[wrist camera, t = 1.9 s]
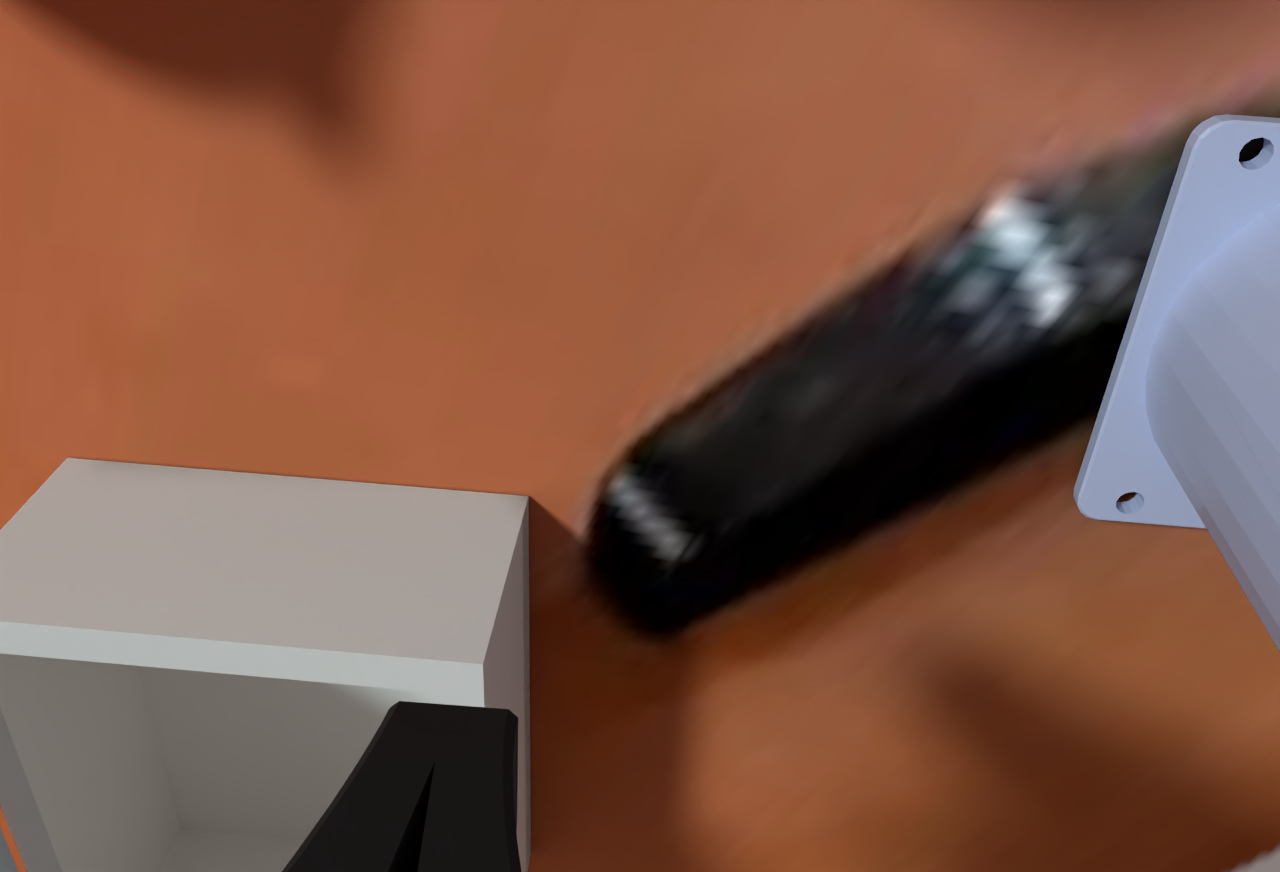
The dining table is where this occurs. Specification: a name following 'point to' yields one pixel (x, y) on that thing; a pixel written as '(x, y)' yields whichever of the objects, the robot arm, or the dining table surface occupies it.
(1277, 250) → the robot arm
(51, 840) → the carton
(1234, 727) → the dining table surface
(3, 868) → the carton flap
